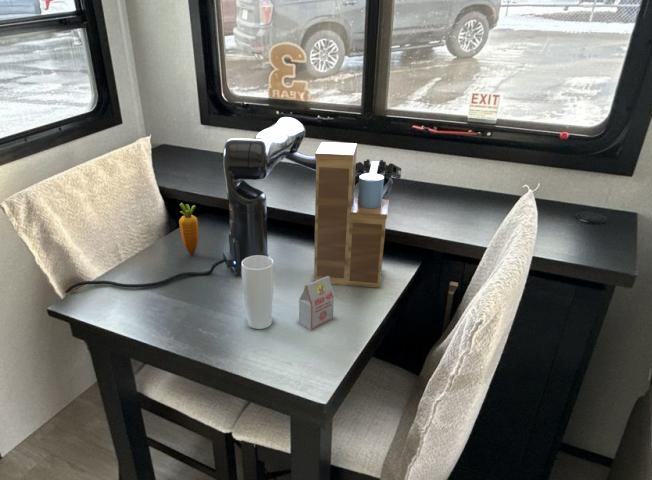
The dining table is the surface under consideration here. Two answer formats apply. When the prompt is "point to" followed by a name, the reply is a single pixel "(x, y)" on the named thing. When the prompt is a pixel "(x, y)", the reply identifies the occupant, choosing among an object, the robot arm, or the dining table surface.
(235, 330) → the dining table surface
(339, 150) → the step stand
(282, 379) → the dining table surface
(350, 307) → the dining table surface
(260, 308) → the drinking glass
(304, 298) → the milk carton
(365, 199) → the pale blue saucepan
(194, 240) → the carrot
